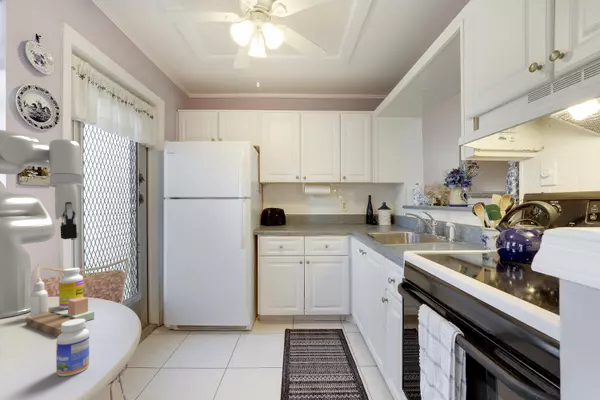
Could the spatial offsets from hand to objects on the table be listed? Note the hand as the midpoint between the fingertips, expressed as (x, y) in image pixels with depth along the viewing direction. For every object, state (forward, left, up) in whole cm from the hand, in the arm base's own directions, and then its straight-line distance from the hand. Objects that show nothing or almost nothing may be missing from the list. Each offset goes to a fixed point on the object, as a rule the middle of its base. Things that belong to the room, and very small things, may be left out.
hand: (68, 238), depth 89 cm
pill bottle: (+33, -13, -25) cm, 43 cm away
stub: (+1, +2, -25) cm, 25 cm away
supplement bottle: (-16, +8, -25) cm, 31 cm away
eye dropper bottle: (-13, -2, -25) cm, 28 cm away
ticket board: (+1, -4, -25) cm, 25 cm away
